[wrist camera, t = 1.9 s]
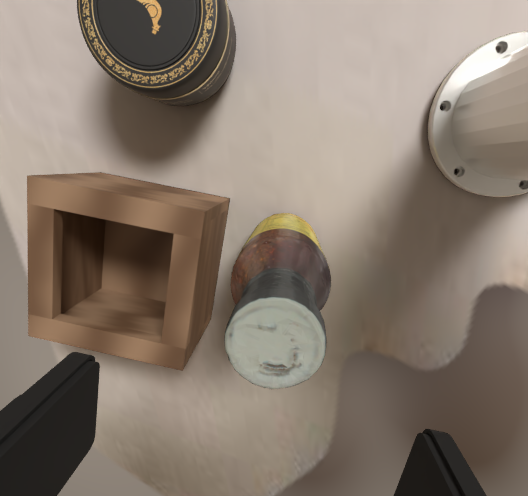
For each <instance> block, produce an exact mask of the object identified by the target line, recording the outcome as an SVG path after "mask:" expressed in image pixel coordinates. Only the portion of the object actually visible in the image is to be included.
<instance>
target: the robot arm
mask: <svg viewBox="0 0 528 496" xmlns="http://www.w3.org/2000/svg"><path fill="white" fill-rule="evenodd" d="M495 49H497V50H498V52H496V50H495ZM440 105H443V107H444V109H443V111H441V110H440ZM428 141H429V146H430V150H431V154H432V156H433V158H434V161H435V163H436V165H437V167H438V168H439V169H440V170H441V172H442V173H443V174H444V176H445V177H446V178H447V179H449V180H450V181H451V182H452V183H453V184H455V185H456V186H458V187H460V188H462V189H464V190H465V191H468V192H471V193H475V194H478V195H483V196H490V197H509V196H515V195H521V194H524V193H527V192H528V31H522V32H515V33H510V34H507V35H504V36H501V37H498V38H495V39H493V40H491V41H490V42H488V43H486V44H484V45H482V46H480V47H479V48H477V49H476V50H474V51H473V52H471V53H470V54H468V55H467V56H466V57H465V58H464V59H462V60H461V61H460V62H459V63H458V64H457V65H456V66H455V67H454V68H453V69H452V70H451V72H450V73H449V74H448V75H447V77H446V78H445V79H444V81H443V82H442V84H441V86H440V88H439V90H438V91H437V93H436V95H435V98H434V101H433V104H432V106H431V109H430V114H429V121H428ZM455 169H457V173H456V174H454V170H455ZM519 183H520V185H519ZM99 368H100V365H99V363H98V362H95V357H94V356H92V355H87V354H83V353H78V352H72V353H71V354H69V355H68V356H67V357H66V358H64V359H63V360H62V361H61V362H60V363H59V364H57V365H56V366H55V367H54V368H53V369H51V370H50V371H49V372H48V373H47V374H46V375H44V376H43V377H42V378H41V379H40V380H38V381H37V382H36V383H35V384H34V385H33V386H31V387H30V388H29V389H28V390H27V391H26V392H24V393H23V394H22V395H20V396H18V397H17V398H15V399H14V400H13V401H11V402H10V403H9V404H8V405H7V406H6V407H5V408H3V409H2V410H1V411H0V496H57V495H58V493H59V492H60V491H61V489H62V488H63V486H64V485H65V484H66V482H67V481H68V479H69V478H70V477H71V475H72V474H73V472H74V471H75V470H76V468H77V467H78V465H79V464H80V462H81V461H82V460H83V458H84V457H85V456H86V454H87V453H88V451H89V450H90V448H91V446H92V444H93V442H94V438H95V430H96V415H97V399H98V384H99ZM394 496H486V494H485V492H484V491H483V489H482V488H481V486H480V484H479V483H478V481H477V479H476V477H475V476H474V474H473V472H472V471H471V469H470V467H469V465H468V464H467V462H466V460H465V459H464V457H463V455H462V454H461V452H460V450H459V449H458V447H457V445H456V443H455V442H454V440H453V438H452V437H451V436H450V435H449V434H448V433H444V432H439V431H435V430H430V429H425V430H424V431H423V433H419V434H417V436H416V439H415V442H414V444H413V447H412V449H411V452H410V454H409V457H408V460H407V462H406V465H405V468H404V470H403V473H402V475H401V478H400V481H399V483H398V486H397V489H396V491H395V494H394Z"/></svg>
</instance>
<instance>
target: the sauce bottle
mask: <svg viewBox="0 0 528 496" xmlns="http://www.w3.org/2000/svg"><path fill="white" fill-rule="evenodd" d="M330 287H331V276H330V270H329V266H328V263H327V260H326V258H325V256H324V254H323V252H322V249H321V247H320V245H319V242H318V240H317V237H316V235H315V233H314V231H313V229H312V228H311V226H310V225H309V224H308V223H307V222H306V221H304V220H303V219H302V218H300V217H298V216H296V215H293V214H289V213H282V214H274V215H272V216H270V217H268V218H266V219H264V220H263V221H262V222H261V223H260V224H259V225H258V226H257V227H256V228H255V230H254V232H253V233H252V235H251V236H250V238H249V239H248V241H247V242H246V244H245V245H244V247H243V248H242V251H241V252H240V254H239V256H238V258H237V260H236V263H235V264H234V267H233V272H232V277H231V292H232V296H233V300H234V302H235V304H236V305H235V308H234V310H233V312H232V315H231V317H230V319H229V322H228V324H227V327H226V331H225V340H224V341H225V350H226V353H227V355H228V358H229V360H230V362H231V364H232V365H233V367H234V369H235V370H236V371H237V372H238V373H239V374H240V375H241V376H242V377H243V378H245V379H246V380H248V381H249V382H251V383H252V384H255V385H258V386H261V387H264V388H270V389H278V388H287V387H291V386H294V385H297V384H299V383H301V382H304V381H306V380H308V379H309V378H310V377H311V376H312V375H313V374H314V373H316V372H317V370H318V368H319V367H320V366H321V364H322V362H323V359H324V356H325V351H326V330H325V325H324V320H323V318H322V316H321V313H320V310H321V309H322V308H323V306H324V305H325V303H326V301H327V299H328V296H329V293H330Z"/></svg>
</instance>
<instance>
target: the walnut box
mask: <svg viewBox="0 0 528 496" xmlns="http://www.w3.org/2000/svg"><path fill="white" fill-rule="evenodd" d="M229 202H230V198H225V197H220V196H215V195H210V194H205V193H200V192H195V191H190V190H185V189H180V188H175V187H170V186H165V185H160V184H155V183H150V182H145V181H140V180H135V179H130V178H125V177H121V176H116V175H111V174H106V173H101V172H100V173H78V174H55V175H32V176H27V214H28V322H29V323H28V325H29V326H28V328H29V329H28V331H29V332H28V334H29V336H31V337H35V338H40V339H44V340H49V341H53V342H58V343H62V344H67V345H71V346H75V347H80V348H84V349H89V350H93V351H98V352H102V353H107V354H111V355H116V356H120V357H124V358H129V359H133V360H138V361H142V362H147V363H151V364H156V365H160V366H164V367H169V368H173V369H178V370H182V371H183V369H184V367H185V366H186V364H187V362H188V360H189V358H190V356H191V355H192V353H193V351H194V349H195V347H196V345H197V343H198V342H199V340H200V338H201V336H202V334H203V332H204V331H205V329H206V327H207V325H208V323H209V321H210V320H211V315H212V309H213V303H214V296H215V290H216V284H217V277H218V271H219V265H220V259H221V252H222V246H223V240H224V233H225V227H226V221H227V214H228V208H229Z"/></svg>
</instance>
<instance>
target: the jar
mask: <svg viewBox="0 0 528 496" xmlns="http://www.w3.org/2000/svg"><path fill="white" fill-rule="evenodd" d="M77 10H78V18H79V23H80V27H81V30H82V34H83V36H84V39H85V41H86V44H87V46H88V48H89V50H90V52H91V53H92V55H93V57H94V58H95V59H96V61H97V62H98V63H99V65H100V66H101V67H102V68H103V69H104V70H105V71H106V72H107V73H108V74H109V75H110V76H111V77H112V78H114V79H115V80H116V81H118V82H119V83H121V84H122V85H124V86H126V87H127V88H129V89H131V90H132V91H134V92H136V93H138V94H140V95H143V96H146V97H149V98H152V99H154V100H157V101H159V102H162V103H165V104H168V105H174V106H187V105H192V104H196V103H199V102H201V101H204V100H206V99H208V98H209V97H211V96H212V95H213V94H215V93H216V92H217V91H218V90H219V89H220V88H221V87H222V85H223V84H224V83H225V81H226V79H227V77H228V76H229V73H230V71H231V68H232V65H233V62H234V57H235V51H236V33H235V26H234V22H233V18H232V15H231V12H230V10H229V7H228V4H227V0H77Z"/></svg>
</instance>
